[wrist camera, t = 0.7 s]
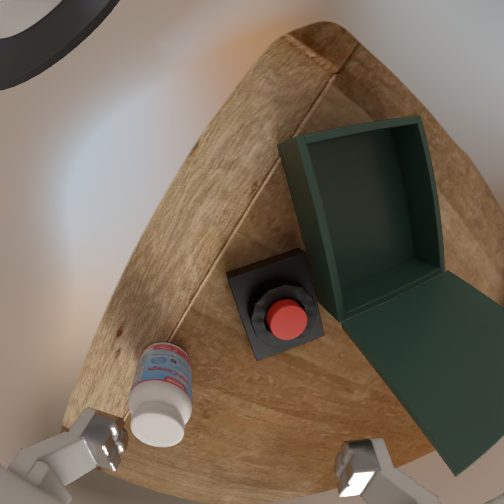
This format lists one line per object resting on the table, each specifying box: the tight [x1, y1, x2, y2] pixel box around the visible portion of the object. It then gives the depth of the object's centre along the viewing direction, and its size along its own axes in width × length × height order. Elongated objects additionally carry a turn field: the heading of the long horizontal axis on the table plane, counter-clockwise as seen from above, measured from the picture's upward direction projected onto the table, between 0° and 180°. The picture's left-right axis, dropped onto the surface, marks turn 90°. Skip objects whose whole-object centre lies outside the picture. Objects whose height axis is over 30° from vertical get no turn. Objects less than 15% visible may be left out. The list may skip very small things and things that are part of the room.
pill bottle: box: [128, 342, 192, 447], centre depth 26 cm, size 6×6×11 cm
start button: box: [266, 299, 307, 340], centre depth 28 cm, size 4×4×2 cm
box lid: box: [342, 270, 504, 477], centre depth 21 cm, size 18×15×5 cm
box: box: [277, 116, 445, 323], centre depth 29 cm, size 18×15×6 cm
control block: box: [226, 248, 324, 361], centre depth 30 cm, size 10×8×4 cm
